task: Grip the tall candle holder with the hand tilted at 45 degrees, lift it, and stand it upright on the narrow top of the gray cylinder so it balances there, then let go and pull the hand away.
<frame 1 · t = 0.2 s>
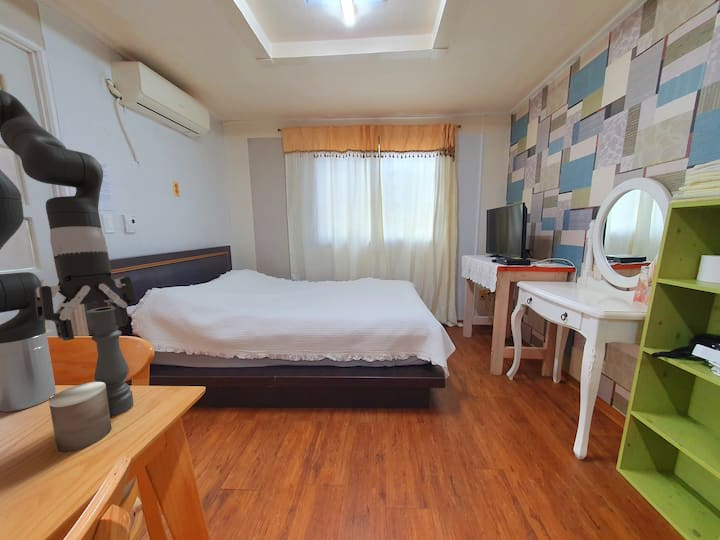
hand: (97, 332, 54), 22 cm above the table, tool pointing down, fingers open, 8 cm apart
gray cylinder: (85, 437, 56), on the table
candle holder: (117, 410, 65), on the table
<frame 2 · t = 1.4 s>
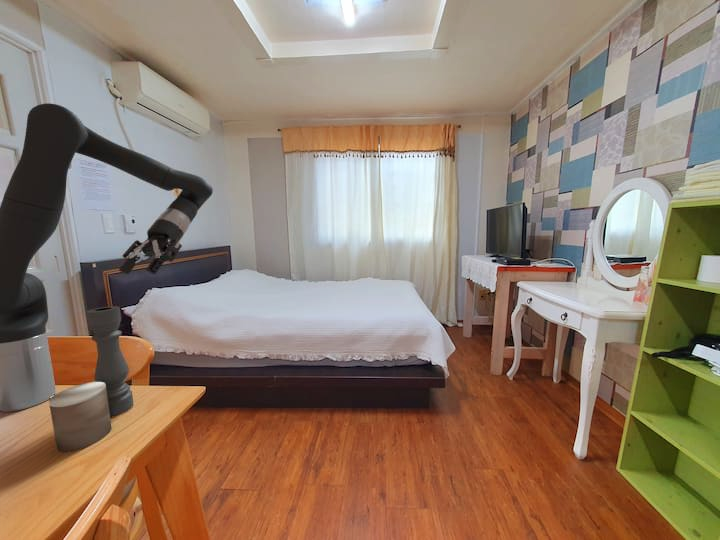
hand: (136, 272, 69), 33 cm above the table, tool tilted 45°, fingers open, 8 cm apart
nothing on the table moved.
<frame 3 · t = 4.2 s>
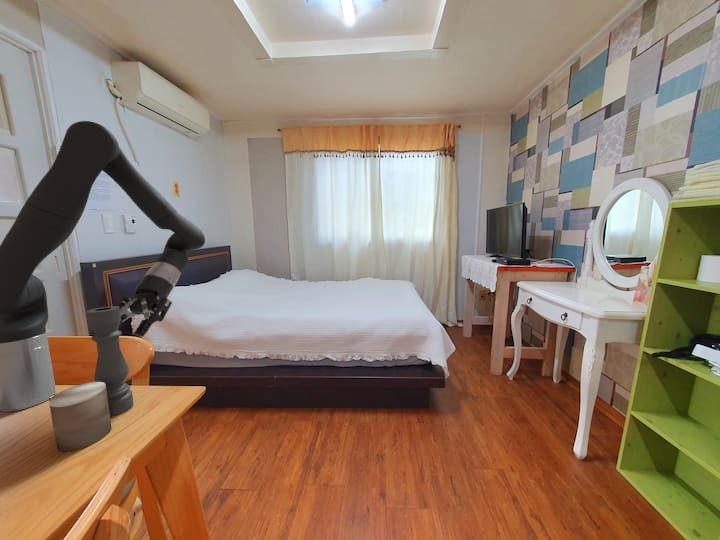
hand: (123, 334, 67), 17 cm above the table, tool tilted 45°, fingers open, 8 cm apart
nothing on the table moved.
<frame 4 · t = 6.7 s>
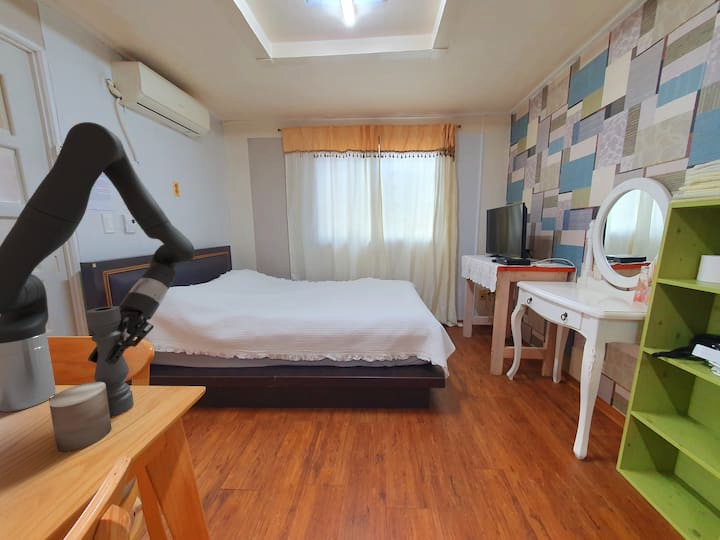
hand: (101, 362, 62), 13 cm above the table, tool tilted 45°, fingers closed on candle holder, 4 cm apart
candle holder: (117, 410, 65), on the table, touching gripper
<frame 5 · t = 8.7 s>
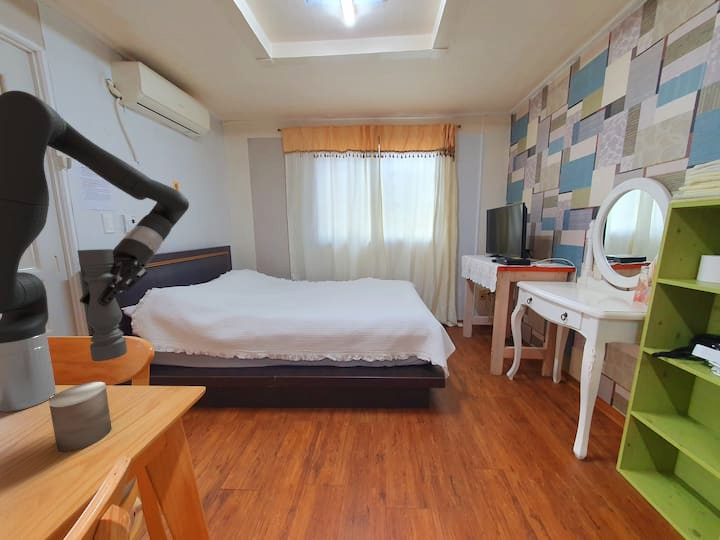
hand: (93, 303, 60), 27 cm above the table, tool tilted 45°, fingers closed on candle holder, 4 cm apart
candle holder: (110, 356, 64), point 14 cm above the table, touching gripper
when the fingers open (24 cm above the table, at t = 10.7 s): candle holder drops 1 cm, resting on gray cylinder.
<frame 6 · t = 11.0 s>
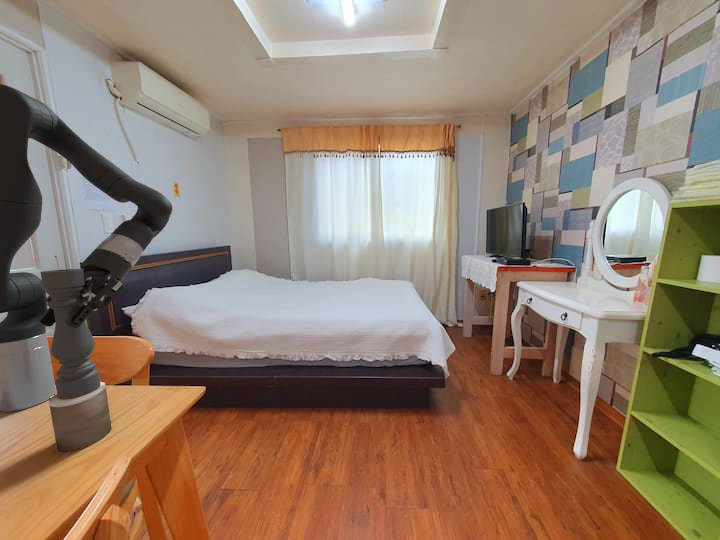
hand: (57, 325, 52), 25 cm above the table, tool tilted 45°, fingers open, 6 cm apart
candle holder: (80, 391, 55), point 10 cm above the table, touching gray cylinder
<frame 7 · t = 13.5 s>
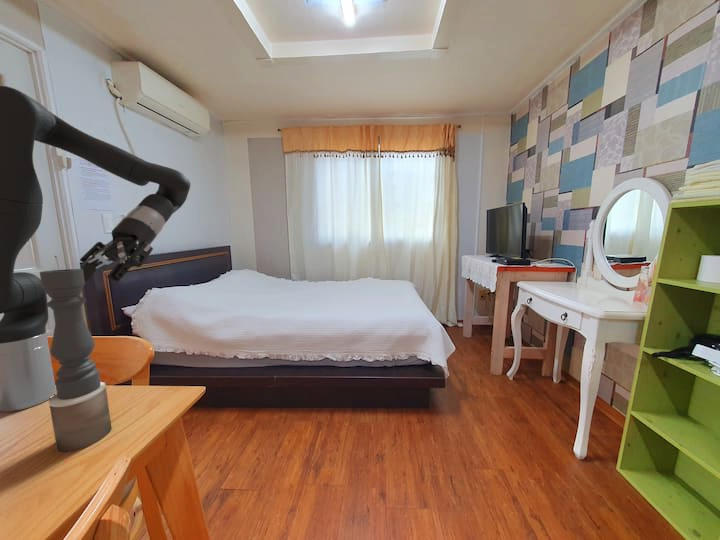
hand: (95, 279, 58), 32 cm above the table, tool tilted 45°, fingers open, 8 cm apart
nothing on the table moved.
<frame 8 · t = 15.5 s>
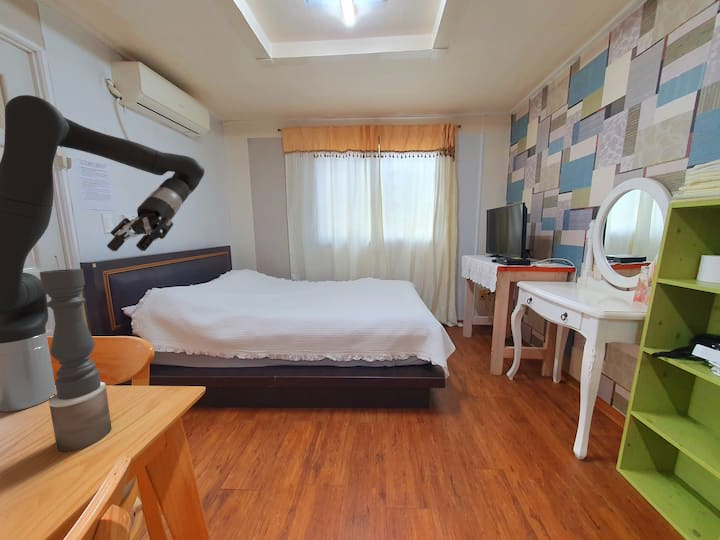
hand: (125, 248, 67), 39 cm above the table, tool tilted 45°, fingers open, 8 cm apart
nothing on the table moved.
at the end: candle holder 0.5 cm off-centre on the gray cylinder, point 9.8 cm above the gray cylinder's base; candle holder tilted 0°; the gripper is holding nothing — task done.
